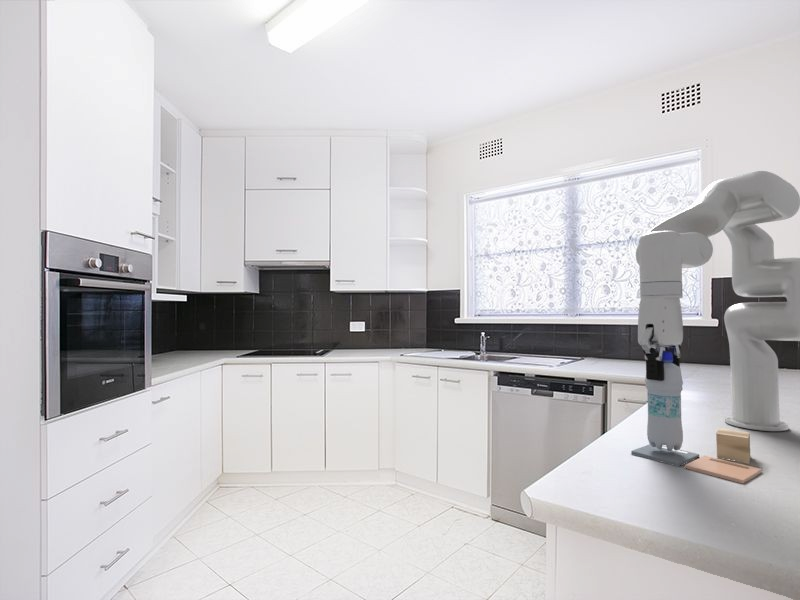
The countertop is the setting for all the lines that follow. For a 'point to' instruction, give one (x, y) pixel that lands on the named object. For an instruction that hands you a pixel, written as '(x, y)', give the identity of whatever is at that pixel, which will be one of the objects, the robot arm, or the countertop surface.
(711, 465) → the terracotta tile
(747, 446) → the oak block
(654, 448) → the slate mat
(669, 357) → the bottle
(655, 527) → the countertop surface
